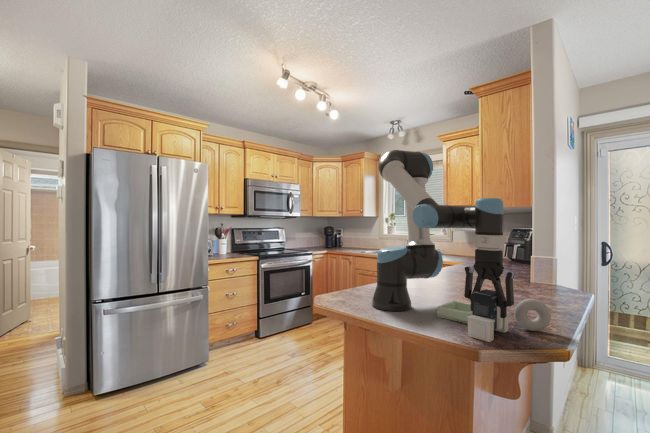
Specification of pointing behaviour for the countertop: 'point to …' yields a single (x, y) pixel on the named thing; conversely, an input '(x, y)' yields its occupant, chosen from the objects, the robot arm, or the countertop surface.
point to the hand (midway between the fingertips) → (487, 325)
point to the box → (486, 305)
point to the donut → (537, 323)
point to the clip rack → (484, 327)
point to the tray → (455, 311)
